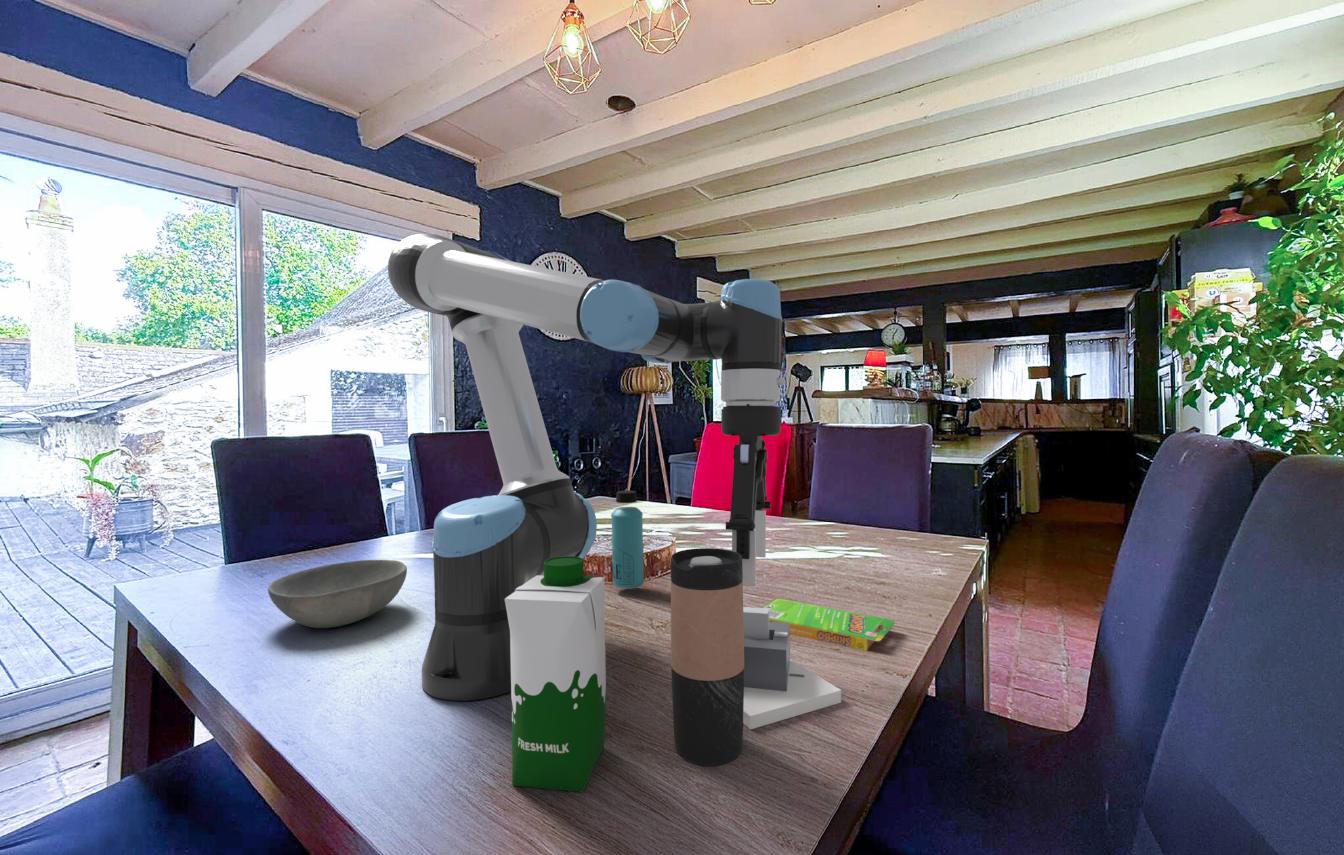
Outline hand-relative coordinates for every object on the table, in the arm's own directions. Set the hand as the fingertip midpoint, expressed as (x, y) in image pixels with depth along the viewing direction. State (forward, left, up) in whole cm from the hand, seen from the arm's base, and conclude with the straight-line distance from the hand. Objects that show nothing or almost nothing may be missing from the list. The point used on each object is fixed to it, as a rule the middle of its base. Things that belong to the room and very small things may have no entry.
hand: (750, 569), depth 74 cm
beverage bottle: (0, +44, -15) cm, 46 cm away
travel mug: (-12, -10, -15) cm, 21 cm away
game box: (+21, +10, -15) cm, 28 cm away
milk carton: (-27, -6, -15) cm, 31 cm away
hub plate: (0, 0, -15) cm, 15 cm away
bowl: (-50, +53, -15) cm, 74 cm away
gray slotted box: (0, 0, -13) cm, 13 cm away
